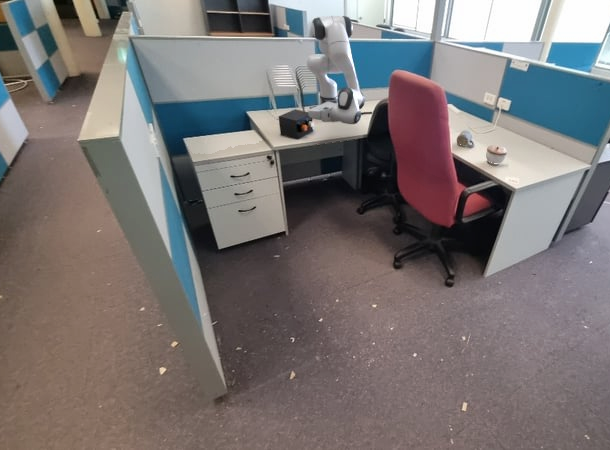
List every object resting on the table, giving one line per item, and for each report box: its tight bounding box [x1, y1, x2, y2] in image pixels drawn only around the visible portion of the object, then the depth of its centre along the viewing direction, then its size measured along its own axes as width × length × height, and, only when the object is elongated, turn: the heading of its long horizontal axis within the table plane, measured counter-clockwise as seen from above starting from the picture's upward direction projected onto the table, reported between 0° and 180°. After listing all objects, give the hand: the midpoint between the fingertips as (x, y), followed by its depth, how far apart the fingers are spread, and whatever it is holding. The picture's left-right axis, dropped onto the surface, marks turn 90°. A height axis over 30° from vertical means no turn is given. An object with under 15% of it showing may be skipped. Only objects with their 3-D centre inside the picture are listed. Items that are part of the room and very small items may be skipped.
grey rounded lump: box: [456, 130, 475, 148], centre depth 200 cm, size 11×8×8 cm
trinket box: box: [485, 145, 508, 166], centre depth 181 cm, size 11×11×9 cm
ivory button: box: [308, 121, 315, 128], centre depth 197 cm, size 3×2×3 cm, turn 157°
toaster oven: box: [277, 109, 314, 140], centre depth 197 cm, size 18×13×11 cm
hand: (310, 107), depth 183 cm, fingers closed
